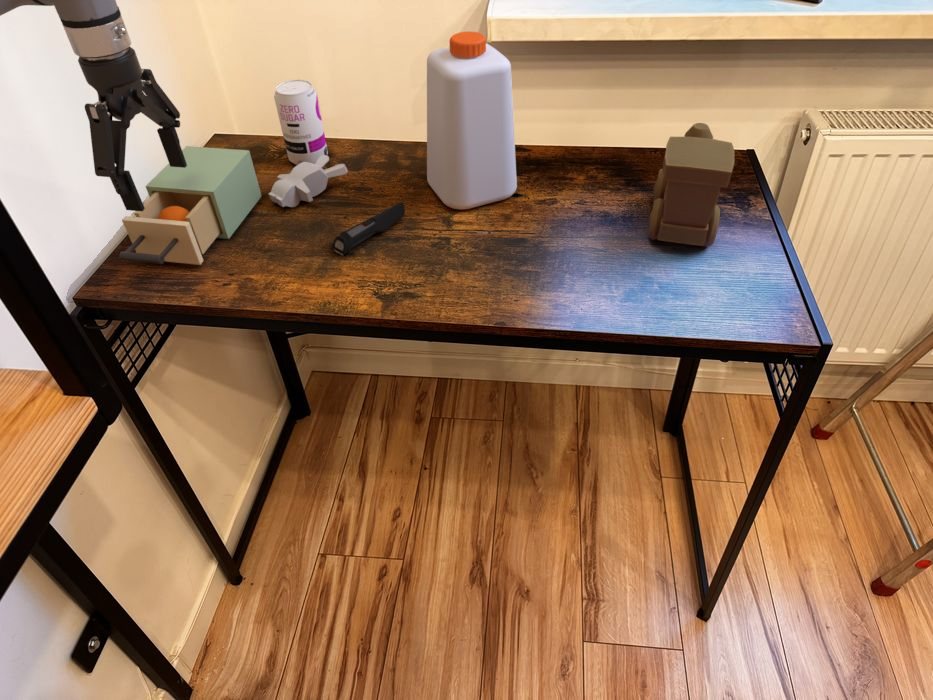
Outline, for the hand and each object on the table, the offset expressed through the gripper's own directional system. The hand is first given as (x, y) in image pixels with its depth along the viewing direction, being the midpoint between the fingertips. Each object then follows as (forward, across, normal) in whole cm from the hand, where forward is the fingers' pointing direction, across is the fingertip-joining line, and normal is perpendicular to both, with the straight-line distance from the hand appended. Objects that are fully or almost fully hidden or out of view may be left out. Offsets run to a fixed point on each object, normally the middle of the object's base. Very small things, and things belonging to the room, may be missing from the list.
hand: (158, 187), depth 108 cm
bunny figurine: (+13, +22, -15) cm, 30 cm away
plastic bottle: (+13, +28, -46) cm, 55 cm away
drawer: (+12, -1, 0) cm, 12 cm away
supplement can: (+13, +35, -10) cm, 39 cm away
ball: (+8, +1, 0) cm, 8 cm away
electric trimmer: (+13, +10, -31) cm, 35 cm away
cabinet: (+13, +12, 0) cm, 17 cm away
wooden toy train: (+13, +21, -85) cm, 88 cm away
